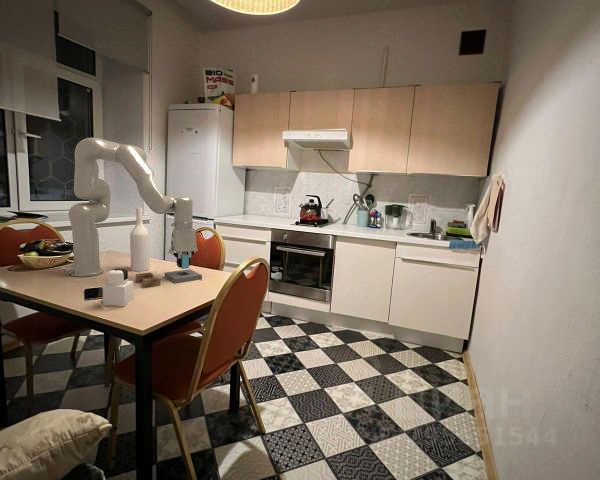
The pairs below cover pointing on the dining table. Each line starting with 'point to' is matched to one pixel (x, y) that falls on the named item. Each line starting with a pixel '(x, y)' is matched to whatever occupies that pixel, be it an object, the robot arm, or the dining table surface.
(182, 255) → the plug
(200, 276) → the port block
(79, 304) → the dining table surface
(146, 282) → the brown notched block
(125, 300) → the medicine bottle
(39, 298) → the dining table surface
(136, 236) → the bottle
